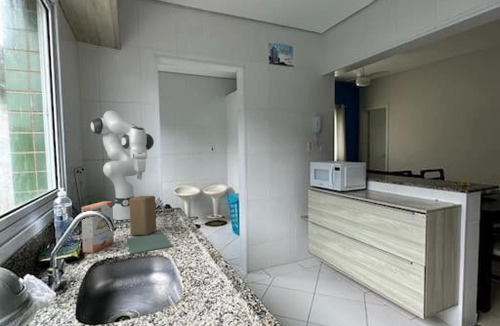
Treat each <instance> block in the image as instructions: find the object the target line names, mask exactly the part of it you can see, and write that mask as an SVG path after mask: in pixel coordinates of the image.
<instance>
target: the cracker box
mask: <svg viewBox="0 0 500 326" xmlns="http://www.w3.org/2000/svg"><path fill="white" fill-rule="evenodd" d="M113 206H114V202H113V201H111V200H110V201H109V200H108V201H107V200H106V201H100V202H97V203H93V204H92V203H91V204H89V205H84V206H81V208H80V209H81V214H82V213H83V212H86V211H100V212H102V213H104V214H105V215H107V216H108V217H109V218H110V219H111V221H112V223H113V224H114V219H113ZM81 231H82V232H81V233H82V235H81V236H82V238H81V239H82V253H85V254H86V253H90V254H94V253H96V252H98V251H100V250H102V249H103V248H106V247H108V246H110V245H112V244H114V241H115V240H114V239H115V238H114V236H115V235H114V232H112V231H111V230H110V229H109V227H108V225H107V224H106V222H105V221H104V220H103V219H101V218H98V217H89V218H85V219H83V220H82V219H81Z"/></svg>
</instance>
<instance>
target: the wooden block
mask: <svg viewBox="0 0 500 326" xmlns="http://www.w3.org/2000/svg"><path fill="white" fill-rule="evenodd" d="M129 203H130V219H129V225H130V235H131V236H147V235H151V234H152V233H155V232H156V231H157V211H156V210H157V209H156V196H155V195H138V196H134V197H133V198H130V200H129Z"/></svg>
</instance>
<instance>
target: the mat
mask: <svg viewBox="0 0 500 326" xmlns="http://www.w3.org/2000/svg"><path fill="white" fill-rule="evenodd" d="M126 242H127V246H128V250H129V253H130V255H135V254H136V255H137V254H141V253H146V252H151V251H156V250H157V251H158V250H163V249H167V248H173V245H172V243H171V242H170V240H169V239H168V238H167V236H166V235H165V234H164V232H161V233H154V234H148V235H139V236H135V237H129V238H126Z"/></svg>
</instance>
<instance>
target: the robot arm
mask: <svg viewBox="0 0 500 326" xmlns="http://www.w3.org/2000/svg"><path fill="white" fill-rule="evenodd" d="M90 130H91V131H92V133H94V135H95V134H96V135H101V134H103V136H102V143H103V147H104V148H105V151H106V154H107V156H108V158H109V159H110V160H112V161H108V162H105V163H104V164H103V167H102V171H103V174H104V176H106V177H107V178H108V179H110V180H111V182H112V184H113V185H114V192H115V198H114V203H115V204H113V220H116V221H122V220H130V203H129V200H130V198H133V197H135V196H134V185H133V184H132V182H129V181H127V179H126V177H133V176H136V179H138V180H143V173H146V166H147V165H146V162H147V161H146V159H148V151H149V150H151V149H152V148H153V146H154V143H155V141H154V137H153V136H152V135H151V134H150V133H146V129H145V128H144V127H139V126H137V125H135V124H133V123H131V122H130V121H128V120H127V119H125V118H124V117H122V115H120V114H119V113H118V112H116V111H115V110H107V111H105V112H104V114H103V117H97V118H94V119H92V120H91V121H90ZM119 135H122V136H121V137H119ZM126 150H129V151H130V155H129V153H128V152H127V151H126Z"/></svg>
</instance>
